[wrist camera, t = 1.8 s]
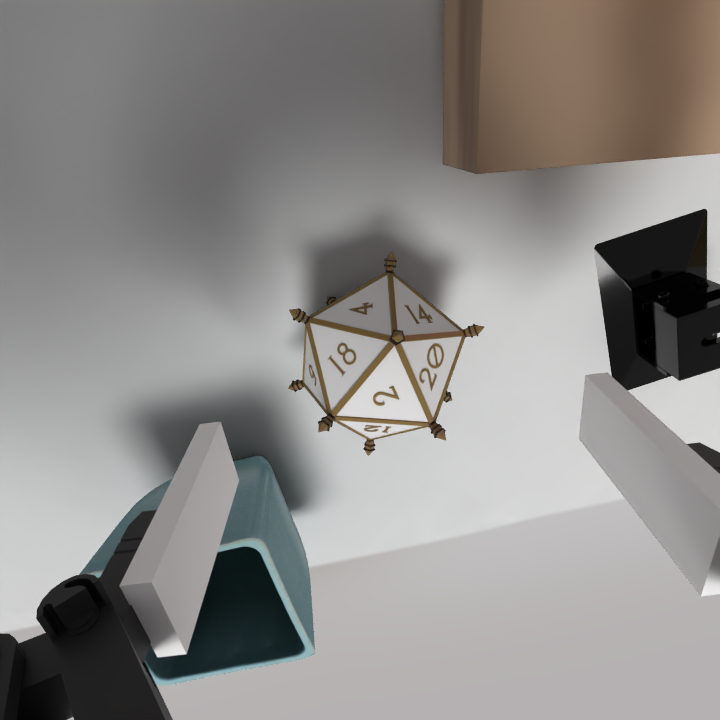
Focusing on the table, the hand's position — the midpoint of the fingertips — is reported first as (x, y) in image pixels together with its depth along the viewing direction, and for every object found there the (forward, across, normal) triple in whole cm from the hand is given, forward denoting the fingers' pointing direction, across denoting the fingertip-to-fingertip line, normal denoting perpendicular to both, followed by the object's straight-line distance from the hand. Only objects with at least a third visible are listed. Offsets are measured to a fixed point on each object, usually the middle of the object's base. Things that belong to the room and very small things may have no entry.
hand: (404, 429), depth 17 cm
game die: (+10, -1, 0) cm, 10 cm away
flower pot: (+10, -11, -10) cm, 17 cm away
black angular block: (+10, +15, -1) cm, 19 cm away
